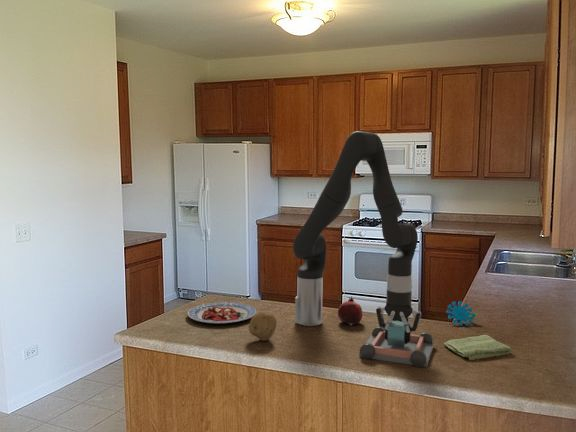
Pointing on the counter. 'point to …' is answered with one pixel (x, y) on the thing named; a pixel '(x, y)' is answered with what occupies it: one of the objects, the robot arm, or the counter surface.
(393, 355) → the chassis
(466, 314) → the gear
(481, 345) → the washcloth
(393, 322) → the teal glassy cube
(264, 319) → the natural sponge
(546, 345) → the counter surface
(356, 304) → the fruit
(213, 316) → the ceramic plate
